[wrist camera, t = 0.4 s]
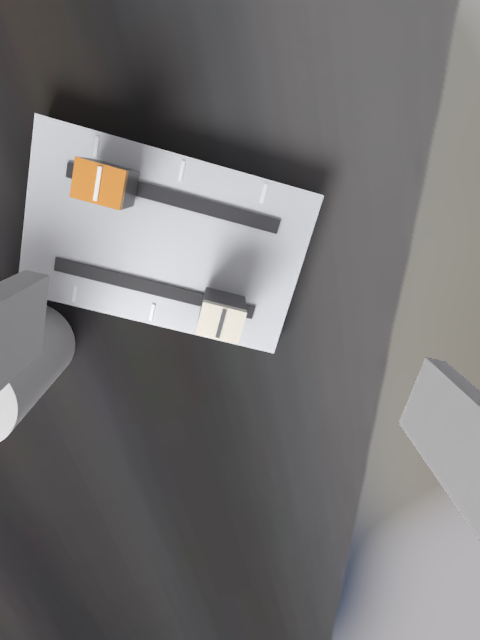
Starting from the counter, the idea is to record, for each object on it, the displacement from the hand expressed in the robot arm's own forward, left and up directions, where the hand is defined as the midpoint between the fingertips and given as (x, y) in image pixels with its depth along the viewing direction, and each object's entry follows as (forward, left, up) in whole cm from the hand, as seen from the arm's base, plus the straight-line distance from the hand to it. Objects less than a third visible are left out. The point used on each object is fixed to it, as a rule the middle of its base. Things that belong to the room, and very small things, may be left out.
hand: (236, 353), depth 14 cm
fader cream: (+5, 0, -23) cm, 24 cm away
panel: (+1, -6, -26) cm, 26 cm away
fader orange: (-3, -11, -23) cm, 25 cm away
